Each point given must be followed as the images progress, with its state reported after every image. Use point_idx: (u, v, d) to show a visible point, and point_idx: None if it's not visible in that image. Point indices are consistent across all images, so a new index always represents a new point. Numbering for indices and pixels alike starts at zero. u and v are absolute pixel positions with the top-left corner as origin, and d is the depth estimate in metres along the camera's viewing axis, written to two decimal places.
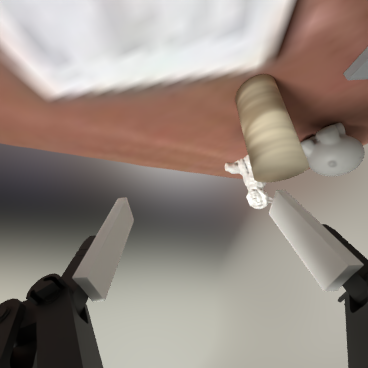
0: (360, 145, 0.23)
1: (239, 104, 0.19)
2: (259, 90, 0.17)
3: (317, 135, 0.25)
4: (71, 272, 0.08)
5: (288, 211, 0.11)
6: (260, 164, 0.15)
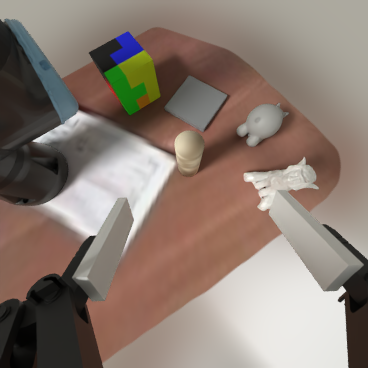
0: (252, 110, 0.34)
1: (181, 172, 0.34)
2: None
3: (241, 135, 0.36)
4: (71, 272, 0.08)
5: (288, 211, 0.11)
6: (177, 153, 0.26)
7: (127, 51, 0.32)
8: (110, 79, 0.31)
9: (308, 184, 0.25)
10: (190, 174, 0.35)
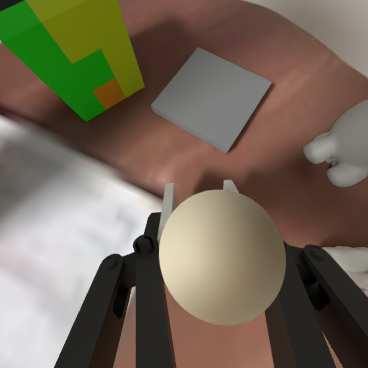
0: (352, 107, 0.15)
1: None
2: None
3: (316, 162, 0.17)
4: None
5: None
6: None
7: None
8: (0, 32, 0.12)
9: None
10: None
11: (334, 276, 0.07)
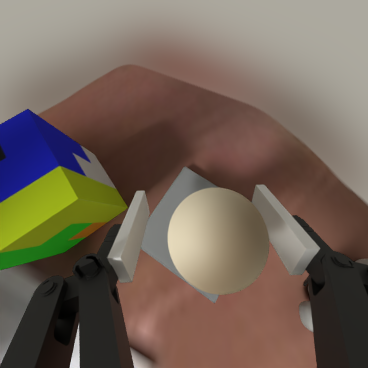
0: None
1: None
2: None
3: None
4: (103, 255, 0.09)
5: (264, 204, 0.12)
6: None
7: (16, 168, 0.12)
8: None
9: None
10: None
11: None
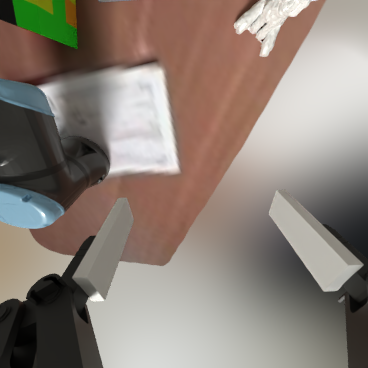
0: None
1: None
2: None
3: None
4: (71, 272, 0.08)
5: (288, 211, 0.11)
6: None
7: None
8: (33, 29, 0.24)
9: (308, 1, 0.22)
10: None
11: None
